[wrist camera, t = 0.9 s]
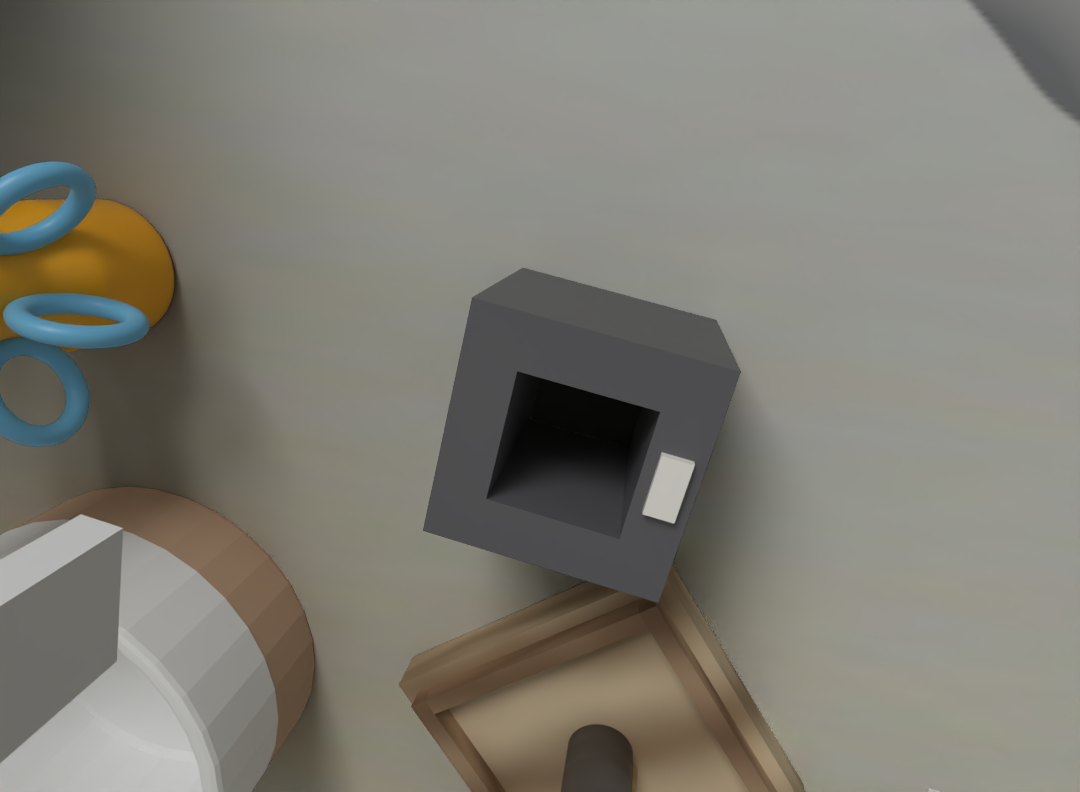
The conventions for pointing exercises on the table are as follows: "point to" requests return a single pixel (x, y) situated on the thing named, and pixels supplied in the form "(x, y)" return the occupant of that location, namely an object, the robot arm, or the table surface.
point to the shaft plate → (597, 701)
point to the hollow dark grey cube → (573, 458)
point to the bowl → (175, 658)
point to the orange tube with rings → (72, 283)
